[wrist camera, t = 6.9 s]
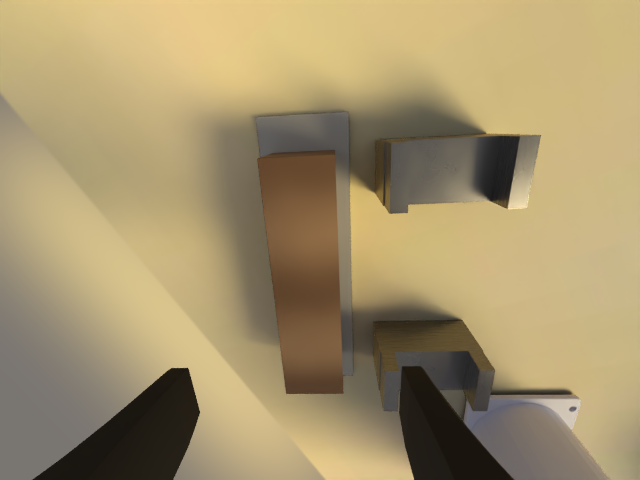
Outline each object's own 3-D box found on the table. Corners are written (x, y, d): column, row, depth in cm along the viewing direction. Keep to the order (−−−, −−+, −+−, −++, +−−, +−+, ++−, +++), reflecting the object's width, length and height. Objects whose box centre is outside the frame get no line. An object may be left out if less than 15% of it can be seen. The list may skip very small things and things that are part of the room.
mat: (353, 372, 22) (353, 375, 22) (287, 372, 23) (286, 375, 22) (348, 111, 16) (348, 111, 16) (256, 117, 16) (255, 117, 16)
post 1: (480, 188, 17) (527, 208, 13) (375, 193, 17) (388, 213, 13) (487, 133, 16) (542, 134, 12) (375, 139, 16) (390, 143, 12)
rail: (341, 352, 21) (343, 393, 18) (293, 353, 21) (286, 393, 18) (334, 149, 16) (335, 154, 13) (272, 152, 17) (257, 158, 13)
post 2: (457, 355, 21) (488, 411, 17) (373, 356, 22) (382, 411, 17) (462, 320, 20) (496, 370, 16) (373, 321, 21) (383, 371, 16)
